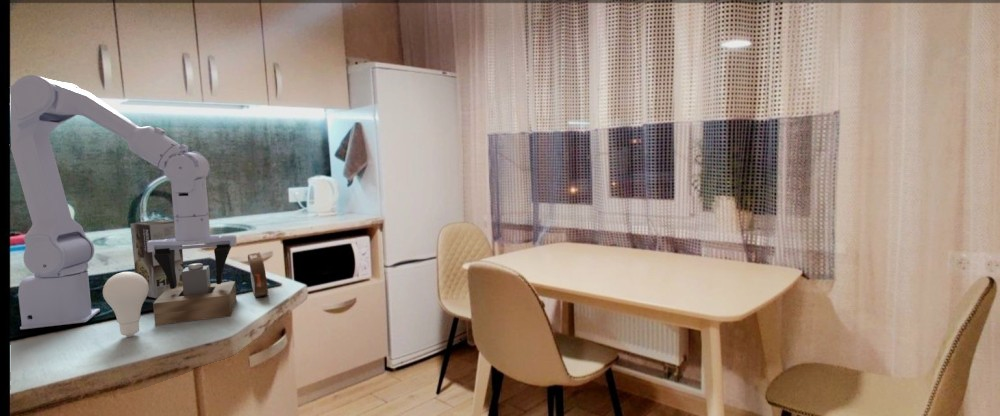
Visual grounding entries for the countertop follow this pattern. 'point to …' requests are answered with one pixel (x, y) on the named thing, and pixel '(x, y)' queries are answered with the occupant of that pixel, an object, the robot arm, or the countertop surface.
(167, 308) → the holder
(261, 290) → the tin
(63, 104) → the robot arm
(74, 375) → the countertop surface
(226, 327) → the countertop surface
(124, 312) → the lightbulb
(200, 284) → the plug
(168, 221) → the coffee box
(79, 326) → the countertop surface
